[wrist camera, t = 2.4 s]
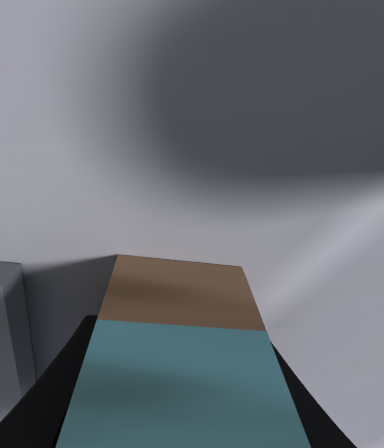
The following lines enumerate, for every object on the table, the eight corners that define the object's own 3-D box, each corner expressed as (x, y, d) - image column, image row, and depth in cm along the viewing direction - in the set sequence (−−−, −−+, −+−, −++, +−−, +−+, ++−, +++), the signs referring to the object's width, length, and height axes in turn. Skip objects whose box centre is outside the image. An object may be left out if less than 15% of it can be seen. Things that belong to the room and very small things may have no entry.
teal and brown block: (217, 350, 12) (252, 558, 7) (113, 344, 12) (62, 566, 6) (242, 266, 10) (318, 466, 5) (117, 254, 10) (49, 465, 4)
